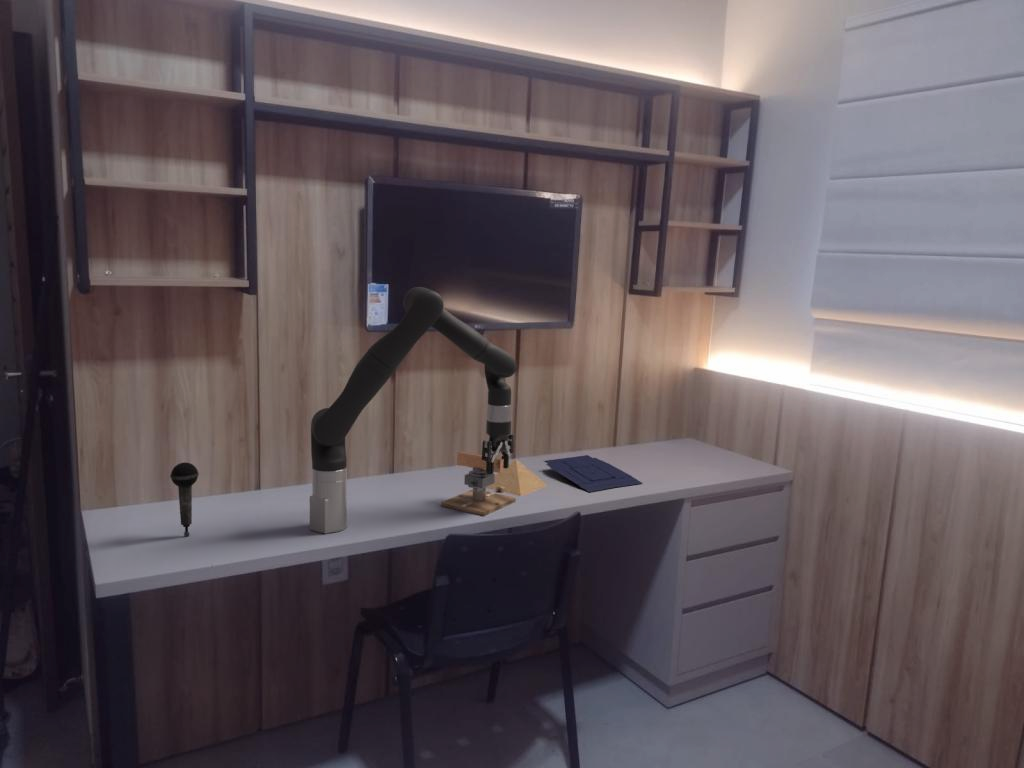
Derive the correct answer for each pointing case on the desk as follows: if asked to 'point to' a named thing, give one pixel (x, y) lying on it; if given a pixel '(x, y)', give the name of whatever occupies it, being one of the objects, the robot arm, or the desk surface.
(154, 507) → the desk surface
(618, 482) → the dark blue flat panel
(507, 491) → the model pyramid
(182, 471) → the microphone
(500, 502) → the post base
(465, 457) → the lever handle
